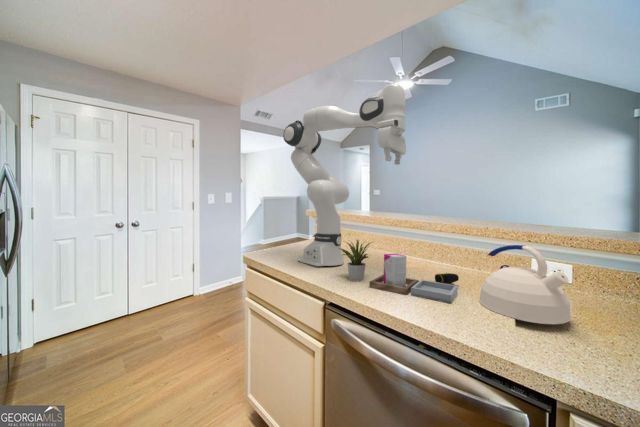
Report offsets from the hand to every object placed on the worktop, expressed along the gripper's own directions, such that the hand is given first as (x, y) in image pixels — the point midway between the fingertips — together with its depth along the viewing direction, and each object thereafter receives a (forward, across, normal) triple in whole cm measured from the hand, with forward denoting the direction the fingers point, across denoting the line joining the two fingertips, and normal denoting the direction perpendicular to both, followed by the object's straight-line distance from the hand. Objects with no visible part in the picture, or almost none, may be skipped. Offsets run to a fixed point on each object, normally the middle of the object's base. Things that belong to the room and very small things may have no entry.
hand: (392, 162), depth 100 cm
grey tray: (+46, +9, +18) cm, 50 cm away
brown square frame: (+46, +9, +4) cm, 47 cm away
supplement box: (+46, +9, +4) cm, 47 cm away
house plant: (+46, +8, -10) cm, 48 cm away
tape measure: (+46, -6, +22) cm, 51 cm away
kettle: (+46, +6, +40) cm, 62 cm away
